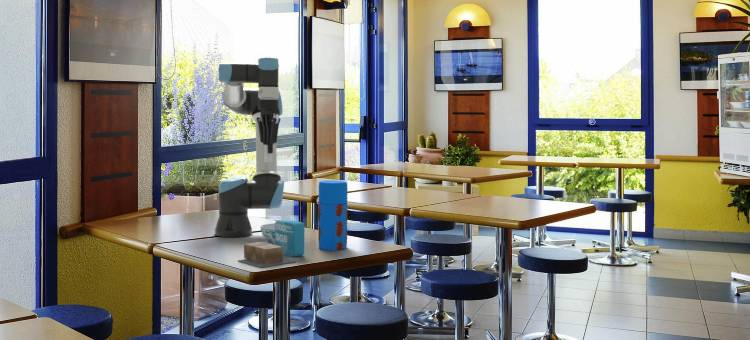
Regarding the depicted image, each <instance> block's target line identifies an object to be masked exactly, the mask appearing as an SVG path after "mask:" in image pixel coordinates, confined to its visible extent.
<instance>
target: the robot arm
mask: <svg viewBox="0 0 750 340" xmlns="http://www.w3.org/2000/svg"><path fill="white" fill-rule="evenodd" d="M279 68H280V66H279V59H278V58H277V57H276V56H275V57H274V56H260V57H259V58H258V60H257V63H254V62H252V63H249V62H248V63H247V62H229V61H228V62H220V63H219V64H218V81H219V82H220V83H224V91H223V93H222V99H223V103H224V104H225V106H226V107H227V108H228V109H229V110H231V111H232V112H234V113H236V114H239V115H245V116H248V115H249V116H251V118H252V120H253V121H254V122H255V159H256V160H255V165H256V166H255V170H256V172H255V174H254V175H253V176H252V180H249V178H248V177H247V176H246V177H244V176H243V177H242V176H241V177H240V176H239V177H233V178H226V179H224V180H221V181H220V182H219V185H218V217H217V221H216V226H215V228H214V235H215V236H217V237H223V238H241V237H248V236H251V235H253V229H252V225H251V222H250V218H249V215H248V210H255V209H256V210H263V209H264V210H265V209H266V210H272V209H273V210H274V209H279V208H281V207H282V204H283V199H284V198H283V197H284V188H285V180H283V179H282V178H281V175H280V174H278V167H277V166H278V160H277V157H278V155H277V142H278V133H279V126H280V123H281V118H280V116H282V115H283V101H282V96H281V95H282V94H281V92H280V90H279ZM245 84H257V85H258V86H257V87H256V88H255V87H244V85H245Z"/></svg>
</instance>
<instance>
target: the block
mask: <svg viewBox="0 0 750 340" xmlns="http://www.w3.org/2000/svg"><path fill="white" fill-rule="evenodd" d="M283 258H284V255H283V247H281V246H277V245H273V244H270V243H269V242H262V241H256V242H251V243H249V242H247V243H243V259H248V260H252V261H256V262H259V263H263V264H270V263H276V262H283Z"/></svg>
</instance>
